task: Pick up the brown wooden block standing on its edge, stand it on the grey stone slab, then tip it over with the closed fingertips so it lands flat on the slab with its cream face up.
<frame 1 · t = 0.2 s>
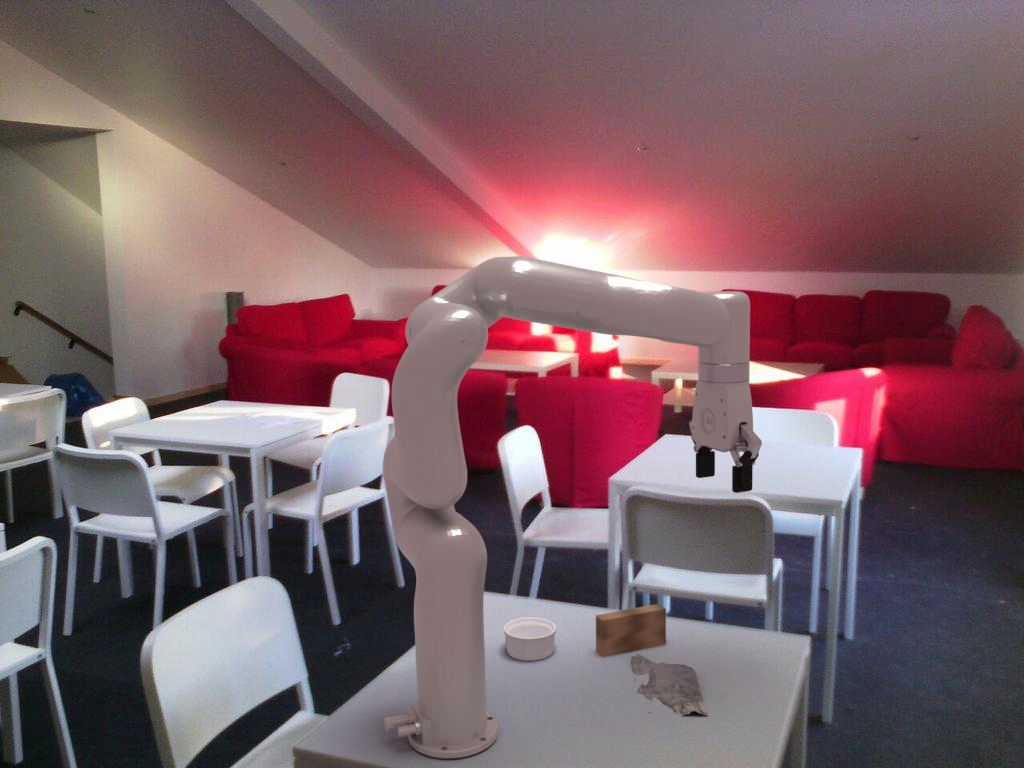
hand: (723, 483, 135), 31 cm above the table, tool pointing down, fingers open, 9 cm apart
ramekin: (530, 652, 148), on the table
brown wooden block: (631, 648, 149), on the table
stone slab: (666, 690, 135), on the table
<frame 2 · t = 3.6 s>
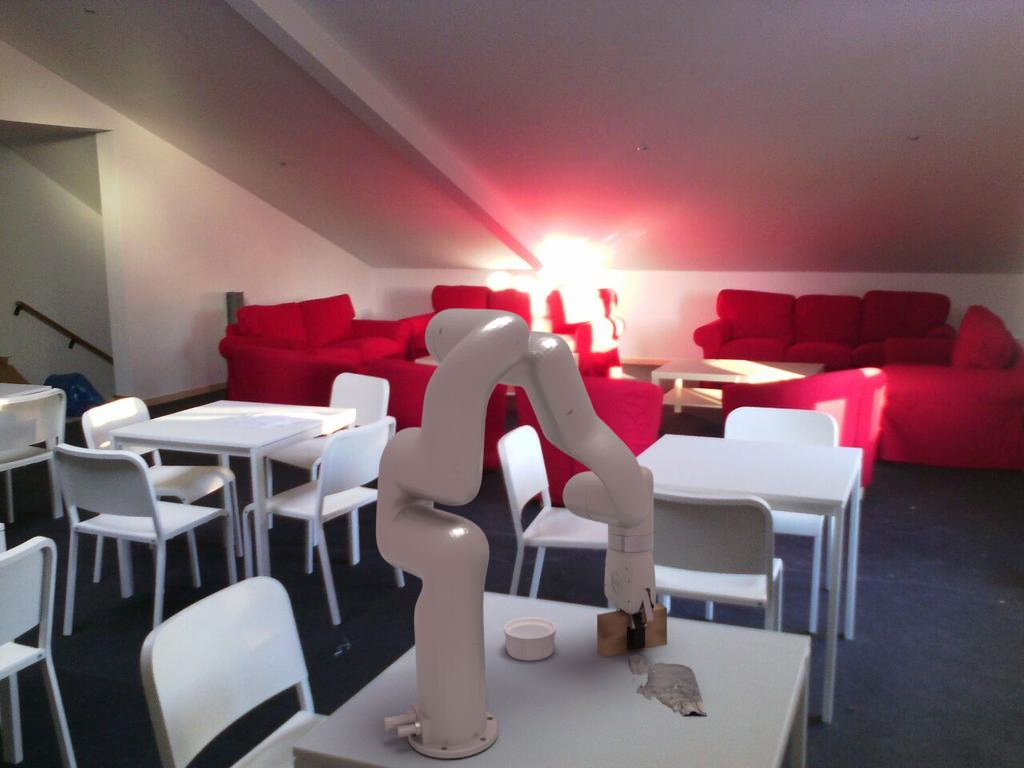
hand: (631, 644, 149), 1 cm above the table, tool pointing down, fingers closed on brown wooden block, 2 cm apart
brown wooden block: (632, 647, 149), on the table, touching gripper
everything else where it was.
when the fingers open (3 cm above the table, at t = 8.3 s): brown wooden block drops 2 cm, resting on stone slab.
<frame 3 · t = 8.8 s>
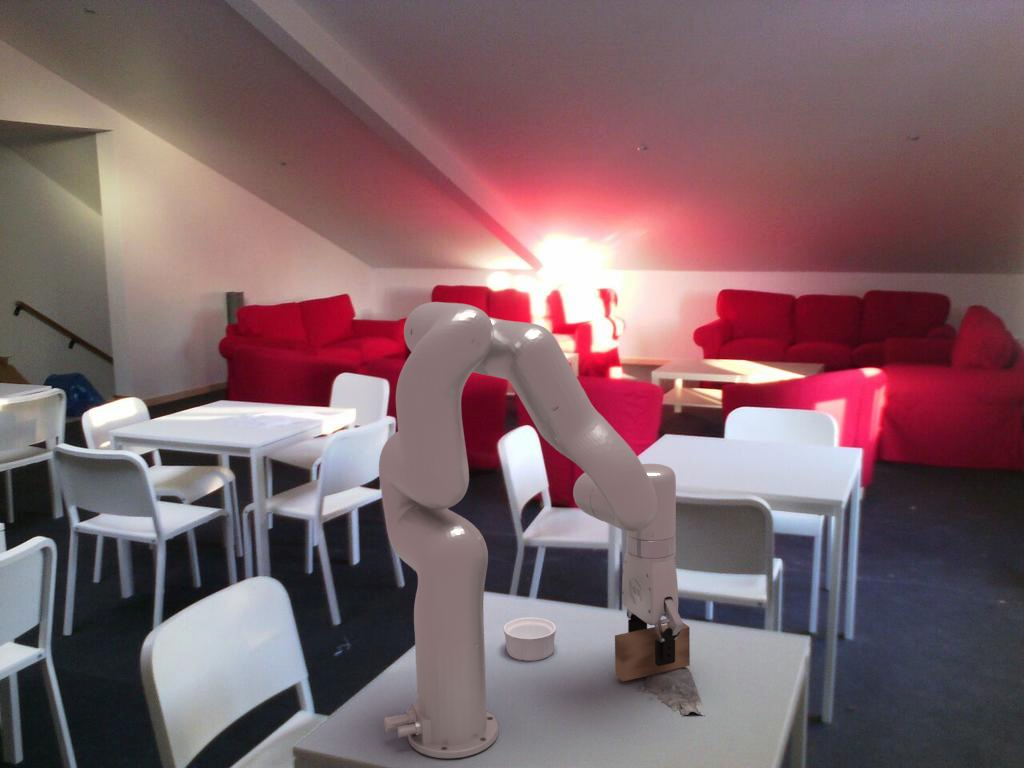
hand: (651, 652, 138), 4 cm above the table, tool pointing down, fingers open, 7 cm apart
brown wooden block: (652, 670, 139), point 1 cm above the table, touching stone slab
stone slab: (663, 691, 135), on the table, touching brown wooden block
everything else where it was.
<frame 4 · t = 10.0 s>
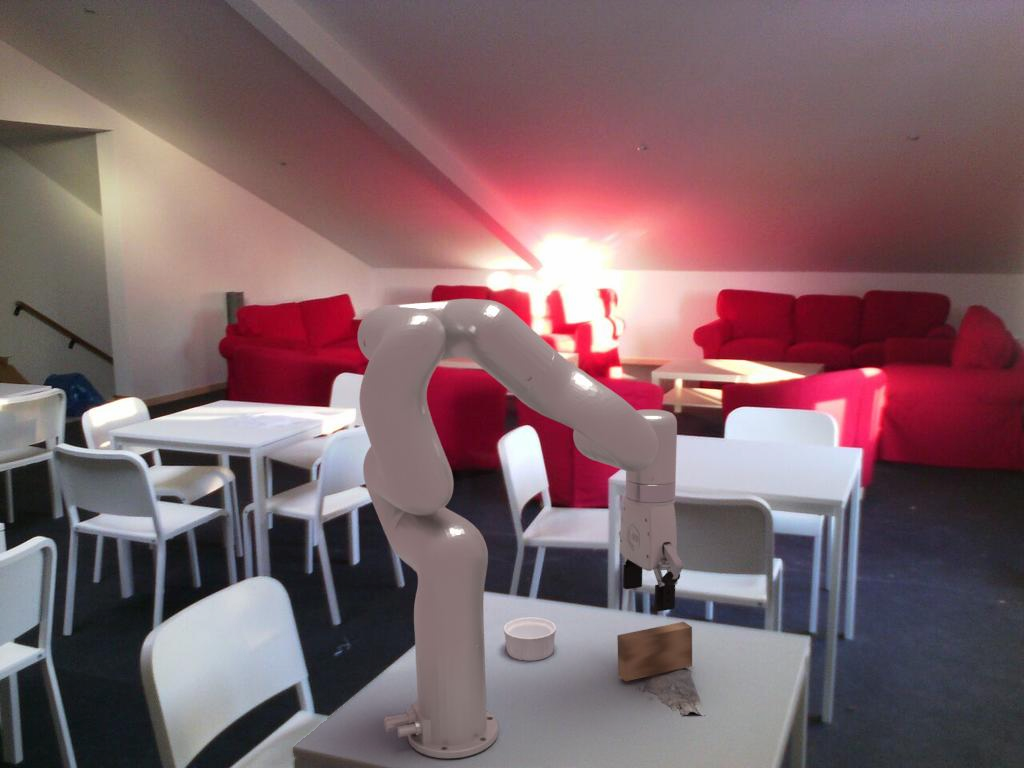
hand: (648, 598, 137), 13 cm above the table, tool pointing down, fingers open, 9 cm apart
brown wooden block: (655, 670, 139), point 1 cm above the table
stone slab: (662, 692, 135), on the table
everything else where it was.
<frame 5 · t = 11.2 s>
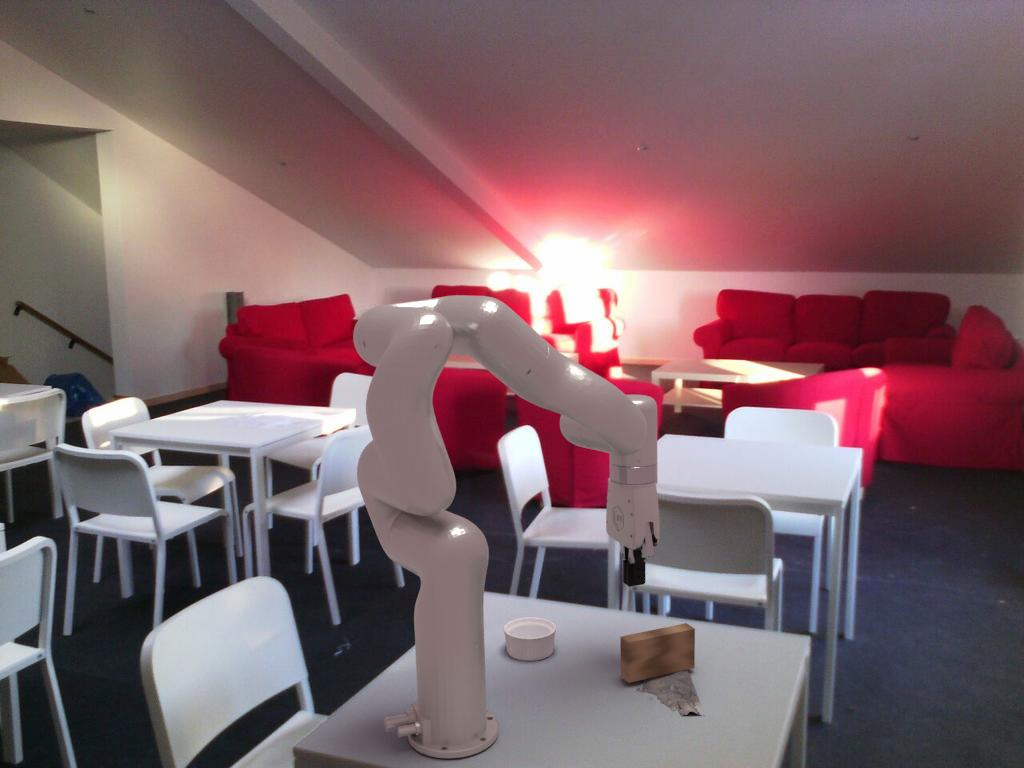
hand: (634, 583, 142), 13 cm above the table, tool pointing down, fingers closed
brown wooden block: (657, 671, 138), point 1 cm above the table, touching stone slab
stone slab: (661, 692, 135), on the table, touching brown wooden block
everything else where it was.
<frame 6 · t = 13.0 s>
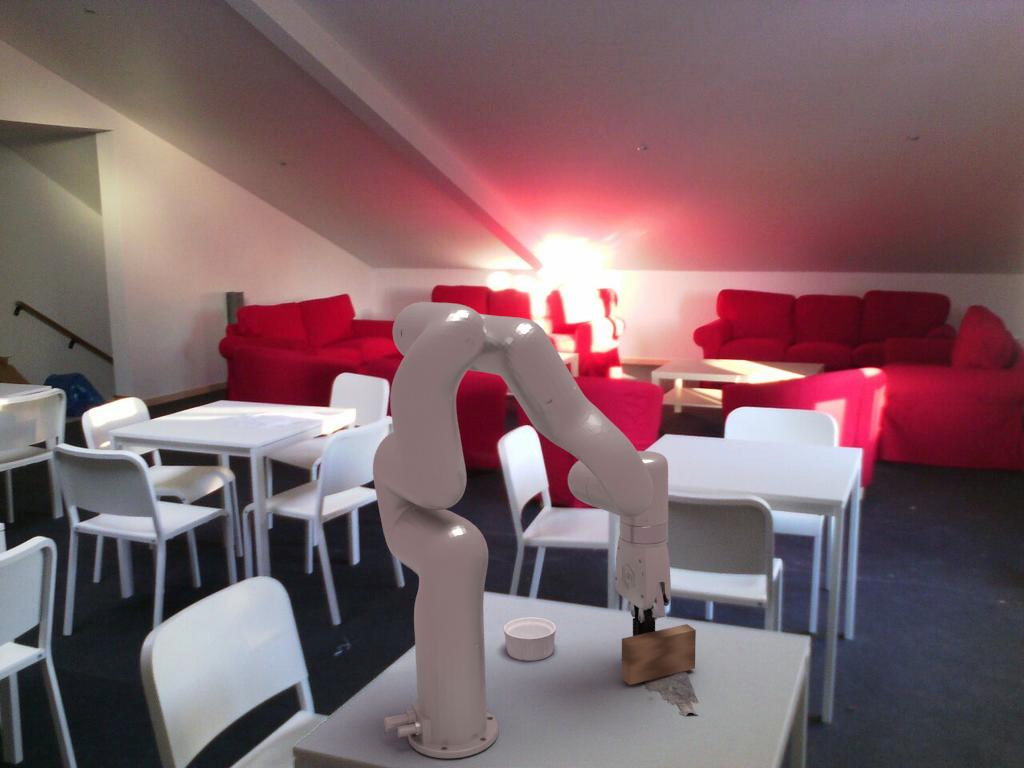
hand: (644, 641, 140), 5 cm above the table, tool pointing down, fingers closed
brown wooden block: (658, 673, 138), point 1 cm above the table, touching gripper, stone slab
everything else where it was.
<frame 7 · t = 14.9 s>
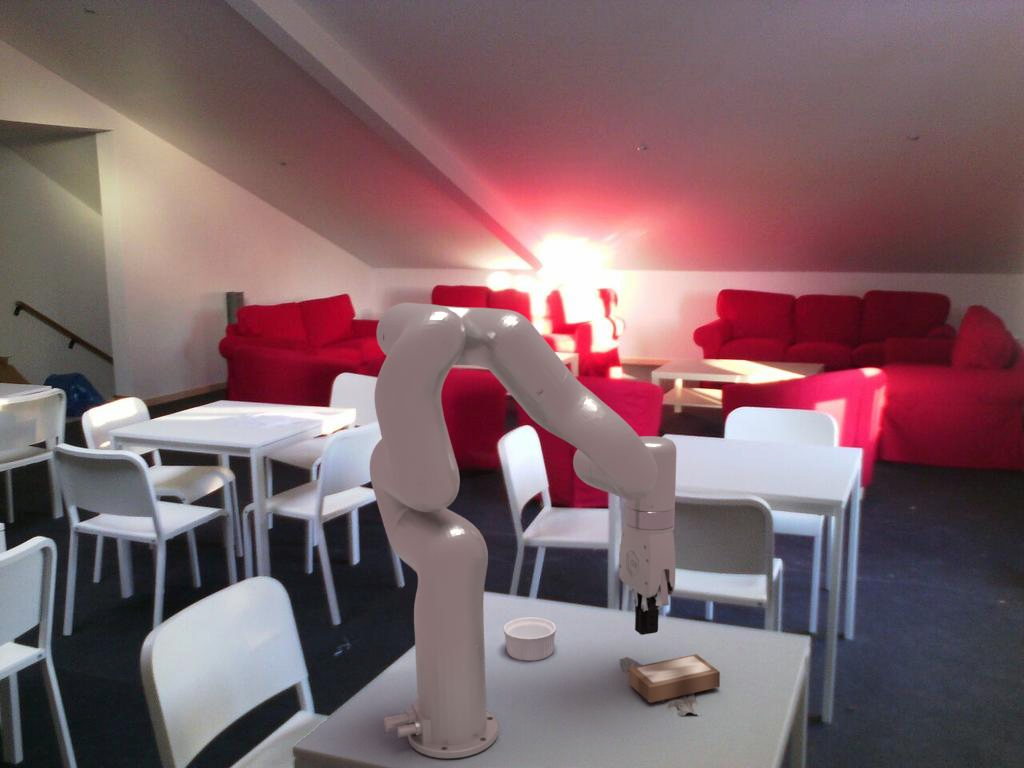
hand: (646, 631, 137), 7 cm above the table, tool pointing down, fingers closed
brown wooden block: (662, 668, 137), point 2 cm above the table, tilted 90°, touching stone slab
everything else where it was.
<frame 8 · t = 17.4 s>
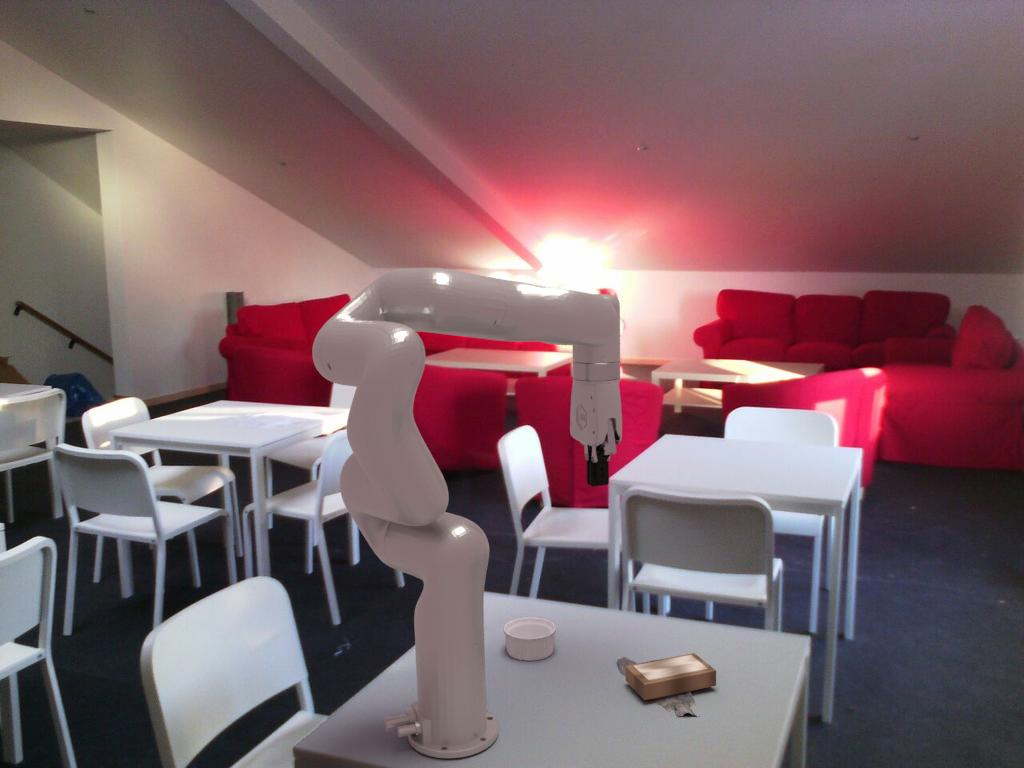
hand: (597, 484, 142), 29 cm above the table, tool pointing down, fingers closed
nothing on the table moved.
at the end: brown wooden block tilted 90°; brown wooden block inside the target area on the stone slab (3.1 cm from its centre), point 2.9 cm above the stone slab's base; the gripper is holding nothing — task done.
